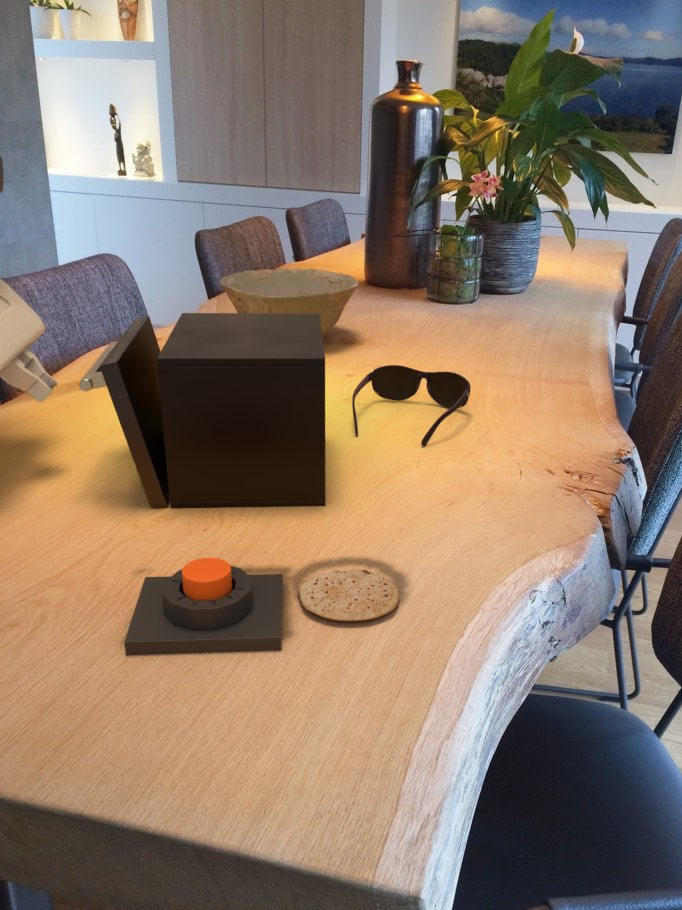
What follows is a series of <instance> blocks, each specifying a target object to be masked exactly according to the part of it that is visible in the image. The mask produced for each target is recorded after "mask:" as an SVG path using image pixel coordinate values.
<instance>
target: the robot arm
mask: <svg viewBox="0 0 682 910" xmlns="http://www.w3.org/2000/svg"><path fill="white" fill-rule="evenodd" d="M4 171H5V170H4V162H3V157H2V155H1V154H0V194H1V193H3V191H4V184H5V181H4V180H5V178H4V177H5V175H4V174H5V173H4ZM46 327H47V326H46V325H45V323H44V322H43V320H42V318H41V316H39V314H38V313H37V312H36V311H35V310H34V309H33V308H32V307H31V306H30V305H29V304H28V303H27V302H26V300H25V299H23V298H22V297H21V296H20V295H19V294H18V293H17V291H15V290H14V289H13V288H12V287H11V286H9V284H7V283H6V282H5V280H3V279H1V278H0V378H1V379H2V380H3V381H4V382H5V383H6V384H8V385H9V386H12V387H14V388H16V389H19V390H20V391H23V392H25V393H27V394H28V395H29V396H31V397H32V398H33V399H34V400H35V401H36V402H39V403H43V402H44V401H46V400H47V399H48V398H49V397H50V396H51V394H52V393H53V392H54V391H55V389H56V388H57V387H58V382H57V380H56V379H55V378H54V377H52V376H51V375H50V374H49V373H48V372H47V371H46V369H45V367H44V365H42V363H41V361H40V360H39V359H38V357H37V356H36V354H34V353H33V352H32V351H31V350H30V349H29V348H30V347H31V346H32V345H33V344H34V343H35V342H36V341H37V340H38V338H40V337H41V336H42V334H43V333H44V332H45V331H46Z"/></svg>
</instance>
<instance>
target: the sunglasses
mask: <svg viewBox="0 0 682 910" xmlns="http://www.w3.org/2000/svg"><path fill="white" fill-rule="evenodd" d="M423 379H424V380H426V391H427V393H428V395H429V396H430V398H431V399H432V400H433V401H434V402H435V403H436V404H438V406H441V407H444V408H448V409H447V410H446V411H445V412H443V413H442V414H441V415H440V416H439V417H438V418H437V419H436V420H435V421H434V423H433V424H432V425H431V426H430V428H429V429H428V430H427V432H426V434H424V436H423V438H422V439H421V442H420V443H421V446H422V447H426V446H427V445H428V443H429V441H430V440H431V438H432V437H433V435H434V433H435V431H436V430H437V429H438V427H439V426H440V424H441V423H443V421H444V420H446V419H447V418H448V417H449V416H450V415H452V414H453V413H454V412H456V411H457V410H458V409H460V408H463V407H465V406H466V405H467V403H468V402H469V397H470V394H471V387H472V385H471V384H470V381H469V380H468V379H467V378H466V377H465V376H463V375H461V374H459V373H457V372H453V371H422V370H418V369H415V368H411V367H409V366H404V365H398V364H388V365H382V366H379V367H376V368H375V369H373V371H371V372H368V374H366V376H365V377H364V378H363V379H362V380H361V381H360V382H359V383H358V384H357V386H356V387H355V388H354V391H353V393H352V396H351V397H352V399H351V407H352V416H353V417H352V418H353V425H354V433H355V434H354V435H355V437H358V436H359V425H358V417H357V411H356V410H357V409H356V397H357V396H358V394H359V393H360V392H361V390H362V389H363V388H364V387H365V386H367V385H368V384H369V383H370V382H371V387H372V390H373V392H374V393H375V395H377V396H378V397H380V398H382V399H385V400H390V401H396V402H397V401H399V402H400V401H405V400H408V399H411V398H412V397H414V396H415V395H416V394H417V393H418V391H419V389H420V386H421V383H422V380H423Z"/></svg>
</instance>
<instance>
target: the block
mask: <svg viewBox="0 0 682 910" xmlns="http://www.w3.org/2000/svg"><path fill="white" fill-rule="evenodd" d="M230 566H231V575H232V590H231V592H230V593H229V594H228V595H227V596H224V597H221V598H218V599H214V600H194V599H191V598H188V597H187V596H186V595H185V594H184V591H183V581H182V569H183V568H182V569H179V570H178V571H176V572H175V573H174V574H172V575H169V576H145V577H144V580H143V583H142V586H141V589H140V592H139V595H138V597H137V601H136V604H135V608H134V611H133V613H132V617H131V620H130V623H129V625H128V626H129V627H128V629H127V633H126V636H125V638H124V641H123V642H124V643H123V644H124V652H125V656H146V655H148V656H149V655H176V654H177V655H179V654H181V655H182V654H210V653H211V654H214V653H240V652H241V653H243V652H249V653H250V652H275V651H280V652H281V651H282V644H283V609H284V608H283V607H284V574H283V573H264V574H263V573H261V574H259V573H258V574H248V573H247V572H245V571H244V569H242V568H241V567H237V566H234V565H230Z"/></svg>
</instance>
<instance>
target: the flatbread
mask: <svg viewBox="0 0 682 910" xmlns="http://www.w3.org/2000/svg"><path fill="white" fill-rule="evenodd" d="M297 592H298V595H299V599H300V602H301V604H302V605H301V606H303V608H304V609H305V610H306V611H308V612H310V613H312V614H314V615H317V616H318V617H320V618H324V619H327V620H332V621H338V622H360V621H361V622H362V621H369V620H373V619H376V618H379V617H380V618H381V617H382V616H385V615H387V614H389V613H390V612H393V610H394V609H395V608H396V607H397V606H398V603H399V599H400V595H399V594H400V593H399V590H398V586H397V585H396V584H395V583H394V582H393V581H391V580H389V579H388V578H387V577H386V578H385V577H384V576H382V575H381V574H379V573H376V572H373V571H369V570H366V569H363V568H361V569H353V568H352V569H341V570H330V571H327V572H323V573H318V574H314V575H313V576H312V577H310V578H309V579H307V580H306V581H304V582H302V583H300V584H299V585H298V586H297Z"/></svg>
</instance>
